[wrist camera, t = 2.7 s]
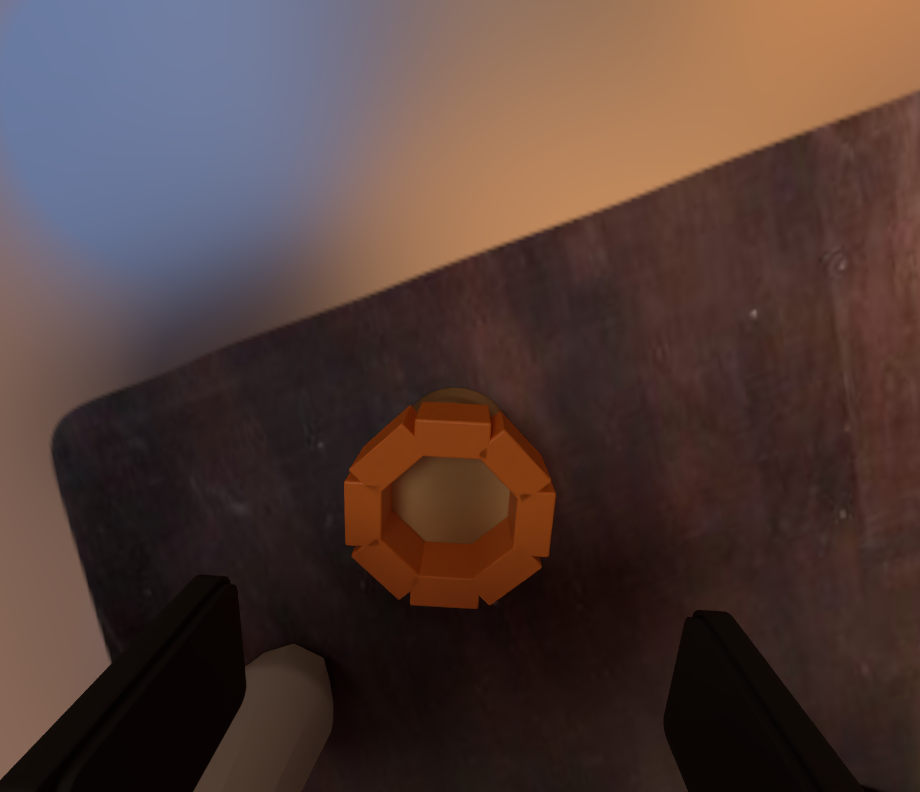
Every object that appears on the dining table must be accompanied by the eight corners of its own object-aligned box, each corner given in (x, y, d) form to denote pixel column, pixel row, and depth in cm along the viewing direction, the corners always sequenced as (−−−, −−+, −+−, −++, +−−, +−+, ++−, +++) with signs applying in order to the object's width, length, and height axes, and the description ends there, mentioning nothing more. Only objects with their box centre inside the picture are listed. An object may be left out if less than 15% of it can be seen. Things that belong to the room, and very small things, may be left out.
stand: (399, 487, 21) (378, 549, 16) (401, 383, 20) (378, 418, 15) (506, 493, 21) (517, 557, 16) (515, 390, 20) (529, 426, 15)
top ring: (360, 564, 17) (345, 602, 15) (358, 397, 15) (341, 414, 13) (534, 574, 16) (542, 613, 15) (552, 408, 15) (564, 427, 13)
